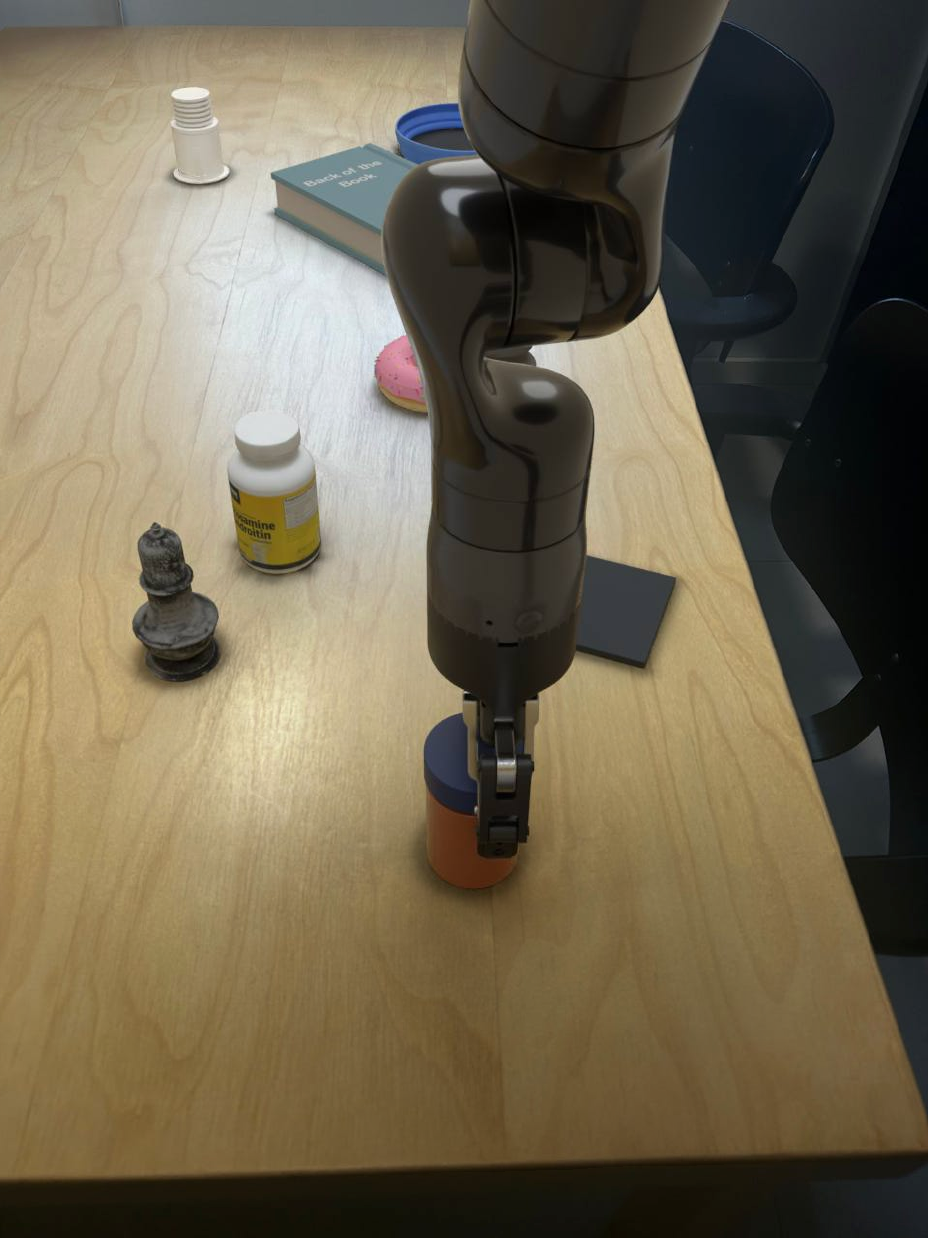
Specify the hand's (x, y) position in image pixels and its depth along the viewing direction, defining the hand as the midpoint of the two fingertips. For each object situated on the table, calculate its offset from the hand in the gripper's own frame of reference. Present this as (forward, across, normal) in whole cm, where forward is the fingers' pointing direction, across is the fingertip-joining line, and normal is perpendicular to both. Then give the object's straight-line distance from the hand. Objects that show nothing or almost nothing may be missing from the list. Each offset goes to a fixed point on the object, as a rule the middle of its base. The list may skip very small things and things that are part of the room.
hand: (493, 791), depth 64 cm
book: (+5, -89, -9) cm, 90 cm away
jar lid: (-4, 0, -1) cm, 4 cm away
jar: (+5, 0, -1) cm, 5 cm away
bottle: (+5, -39, +2) cm, 40 cm away
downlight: (+5, -104, -33) cm, 109 cm away
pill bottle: (+5, -28, -16) cm, 32 cm away
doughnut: (+5, -52, -4) cm, 53 cm away
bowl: (+5, -113, +1) cm, 113 cm away
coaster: (+5, -21, +9) cm, 24 cm away
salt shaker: (+5, -16, -21) cm, 27 cm away
